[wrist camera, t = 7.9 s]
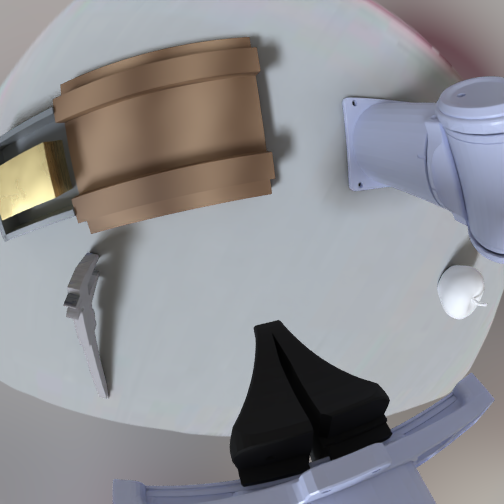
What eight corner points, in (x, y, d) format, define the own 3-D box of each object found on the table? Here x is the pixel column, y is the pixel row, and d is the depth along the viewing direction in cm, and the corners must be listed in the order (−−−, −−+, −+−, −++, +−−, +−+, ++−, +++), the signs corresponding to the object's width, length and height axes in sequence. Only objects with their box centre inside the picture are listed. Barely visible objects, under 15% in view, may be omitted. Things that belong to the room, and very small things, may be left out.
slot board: (246, 42, 15) (253, 30, 13) (267, 190, 21) (277, 198, 18) (67, 86, 14) (51, 82, 11) (96, 228, 19) (84, 241, 17)
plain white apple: (466, 260, 30) (504, 287, 23) (445, 303, 32) (478, 333, 25) (445, 250, 28) (489, 280, 21) (421, 298, 30) (459, 334, 23)
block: (62, 139, 15) (43, 142, 13) (72, 188, 17) (55, 197, 14) (10, 165, 15) (-10, 172, 12) (20, 209, 16) (2, 220, 14)
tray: (69, 109, 15) (52, 106, 12) (89, 205, 18) (74, 216, 16) (0, 145, 14) (-19, 149, 11) (21, 229, 17) (4, 241, 15)
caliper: (89, 248, 20) (60, 287, 14) (100, 251, 20) (73, 290, 15) (102, 394, 27) (94, 433, 21) (110, 395, 27) (103, 435, 22)
